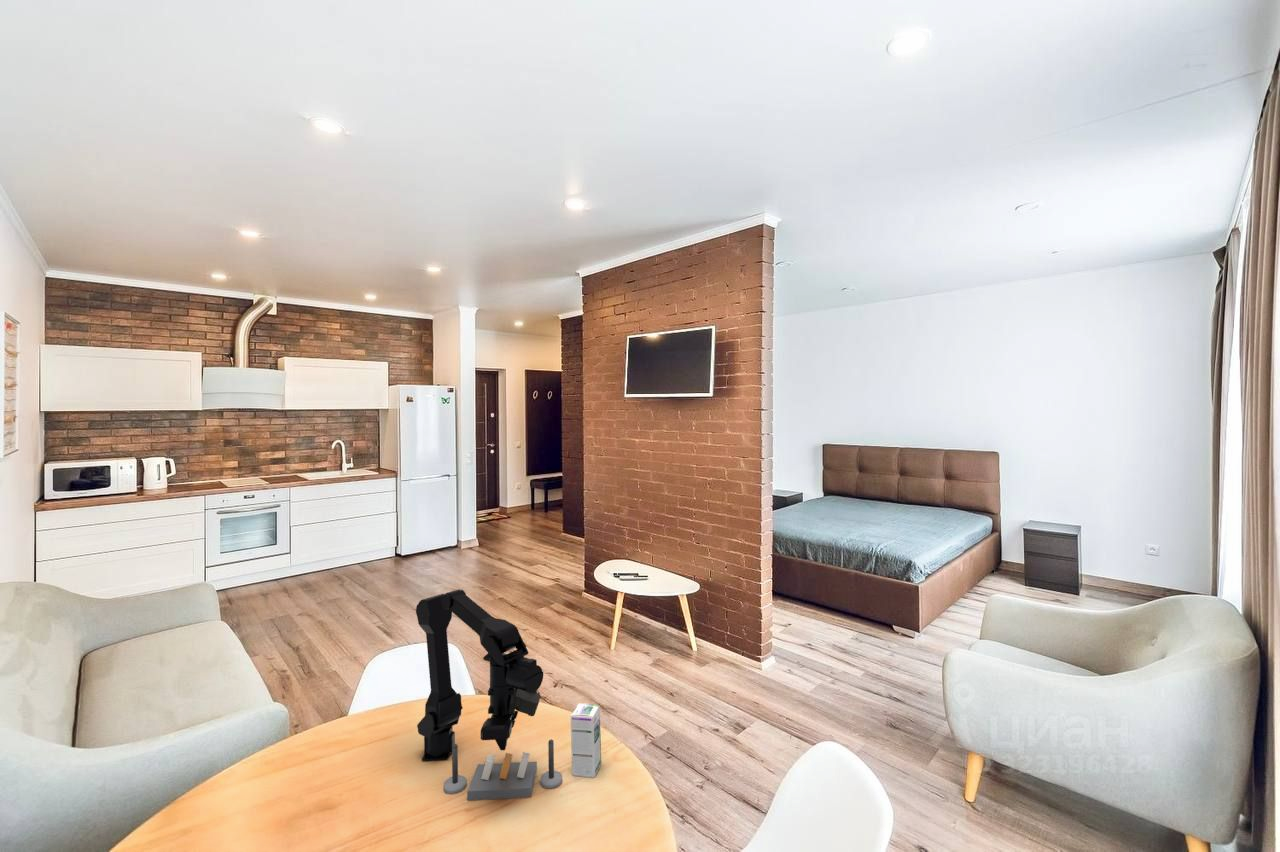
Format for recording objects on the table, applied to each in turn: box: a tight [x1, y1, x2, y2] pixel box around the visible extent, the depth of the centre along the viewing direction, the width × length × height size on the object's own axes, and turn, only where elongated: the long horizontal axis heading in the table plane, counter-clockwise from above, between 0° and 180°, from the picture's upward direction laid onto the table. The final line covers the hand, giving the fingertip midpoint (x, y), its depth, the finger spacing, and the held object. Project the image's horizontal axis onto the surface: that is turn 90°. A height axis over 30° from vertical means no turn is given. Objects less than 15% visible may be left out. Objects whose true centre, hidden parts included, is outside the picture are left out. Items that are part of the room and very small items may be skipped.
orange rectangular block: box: [499, 752, 513, 779], centre depth 125 cm, size 2×3×4 cm, turn 3°
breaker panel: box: [466, 760, 538, 802], centre depth 125 cm, size 14×10×2 cm
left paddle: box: [481, 753, 496, 780], centre depth 125 cm, size 2×3×4 cm, turn 3°
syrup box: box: [570, 703, 602, 779], centre depth 131 cm, size 6×6×14 cm
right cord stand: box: [539, 738, 563, 790], centre depth 126 cm, size 5×5×10 cm
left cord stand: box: [443, 743, 468, 795], centre depth 125 cm, size 5×5×10 cm
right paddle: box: [517, 751, 531, 778], centre depth 126 cm, size 2×3×4 cm, turn 3°
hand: (503, 749), depth 126 cm, fingers closed
